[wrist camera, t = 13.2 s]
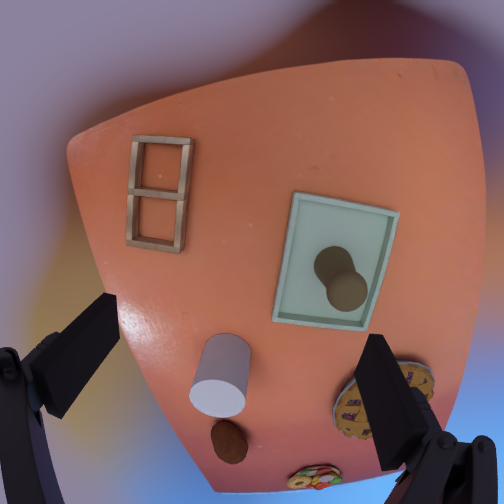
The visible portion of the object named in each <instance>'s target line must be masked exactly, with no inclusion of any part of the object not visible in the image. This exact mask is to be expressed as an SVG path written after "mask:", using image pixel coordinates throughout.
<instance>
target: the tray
mask: <svg viewBox="0 0 504 504" xmlns="http://www.w3.org/2000/svg"><path fill="white" fill-rule="evenodd" d="M399 215H400V213H399V212H397V211H395V210H392V209H388V208H383V207H378V206H374V205H369V204H364V203H359V202H354V201H349V200H344V199H339V198H334V197H328V196H323V195H317V194H312V193H306V192H300V191H293V196H292V202H291V208H290V214H289V220H288V226H287V232H286V238H285V243H284V249H283V255H282V260H281V266H280V272H279V277H278V282H277V288H276V293H275V299H274V304H273V309H272V321H274V322H281V323H289V324H296V325H304V326H313V327H322V328H331V329H340V330H351V331H361V332H366V331H367V328H368V325H369V322H370V319H371V316H372V313H373V310H374V307H375V304H376V301H377V298H378V295H379V291H380V288H381V285H382V281H383V278H384V274H385V271H386V267H387V264H388V260H389V256H390V252H391V249H392V245H393V241H394V236H395V232H396V228H397V224H398V219H399ZM331 246H339V247H342V248H344V249H346V250H347V251H348V252H349V254H350V256H351V257H352V260H353V263H354V266H355V269H356V272H358V273H359V274H360V275H361V276H363V278H364V279H365V281H366V283H367V288H368V294H367V298H366V300H365V302H364V303H363V304H362V305H361V306H360V307H359V308H358V309H356V310H354V311H350V312H341V311H339V310H336V309H335V308H334V307H333V306H332V305H331V304H330V303H329V301H328V299H327V294H326V288H325V286H324V285H323V284H322V282H321V281H320V280H319V279H318V277H317V276H316V274H315V271H314V261H315V259H316V256H317V255H318V254H319V253H320V252H321V250H323V249H325V248H327V247H331Z"/></svg>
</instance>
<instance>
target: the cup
mask: <svg viewBox="0 0 504 504" xmlns="http://www.w3.org/2000/svg"><path fill="white" fill-rule="evenodd" d="M250 358H251V350H250V347H249V345H248V344H247V343H246V342H245V341H244V340H243V339H242V338H240V337H238V336H236V335H233V334H227V333H224V334H218V335H215V336H213V337H211V338H210V339H209V340H208V341H207V343H206V345H205V348H204V351H203V354H202V357H201V360H200V363H199V366H198V369H197V372H196V375H195V378H194V381H193V384H192V387H191V390H190V393H189V396H190V400H191V402H192V404H193V405H194V406H195V407H196V408H197V409H198V410H199V411H201V412H203V413H205V414H207V415H209V416H213V417H220V418H225V417H231V416H234V415H237V414H238V413H240V412H241V411H242V410H243V408H244V406H245V401H246V393H247V384H248V376H249V367H250Z"/></svg>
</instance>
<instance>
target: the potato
mask: <svg viewBox="0 0 504 504" xmlns="http://www.w3.org/2000/svg"><path fill="white" fill-rule="evenodd" d="M211 439H212V443H213V447H214V451H215V452H216V454H217V456H218V457H219V458H220V459H221V460H223V461H224V462H226V463H229V464H238V463H240V462H241V461H243V460H244V458H245V457H246V454H247V451H248V444H247V441H246V440H245V438H244V437H243V435H242V434H241V432H240V431H239V430H238V429H237V428H236V427H235V426H234V425H232V424H231V423H229V422H227V421H221V422H218V423H216V424H215V425H214V426H213V428H212V430H211Z"/></svg>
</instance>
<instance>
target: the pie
mask: <svg viewBox="0 0 504 504" xmlns="http://www.w3.org/2000/svg"><path fill="white" fill-rule="evenodd" d="M396 361H397V363H398V364H399V366H400V368H401V370H402V372H403V374H404V376H405V378H406V380H407V382H408V384H409V386H410V387H417V388H418V389H419V390H421V391H422V392H423V393H424V395H425V397H426V399H427V401H429V400H430V399H431V398H432V397H433V393H434V392H433V387H434V383H435V380H434V377H433V374H432V371H431V369H430V368H428V367H426V366H424V365H422V364H420V363H418V362H411V361H408V360H396ZM333 421H334V424H335V426H336V427H337V429H338V430H340V431H341V432H342V433H343V434H344V435H345V436H348V437H352V436H354V437H358V438H359V439H365V440H366V439H367V438H368V437H373V436H372V433H371V429H370V426H369V422H368V419H367V416H366V412H365V409H364V406H363V402H362V399H361V396H360V393H359V389H358V386H357V383H356V380H355V377H354V376H353V377H352V378H351V380H350V381H349V382H348V383H347V384H346V385H345V387H344V390H343V392H342V393H341V394H340V395H339V397H338V399H337V402H336V404H335V406H334V408H333Z"/></svg>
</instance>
